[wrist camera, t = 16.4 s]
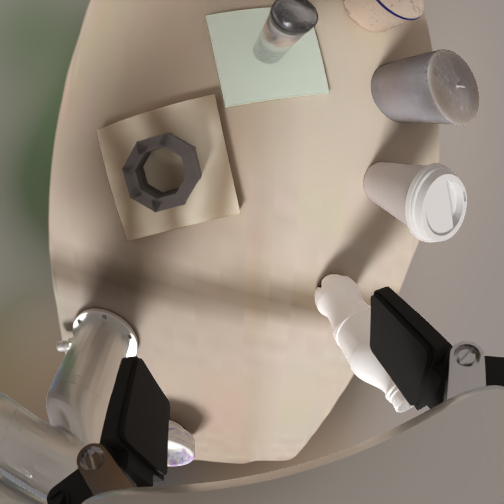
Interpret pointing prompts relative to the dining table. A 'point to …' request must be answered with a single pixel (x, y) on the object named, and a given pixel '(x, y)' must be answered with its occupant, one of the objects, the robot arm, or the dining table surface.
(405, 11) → the teacup with lid
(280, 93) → the sage pad
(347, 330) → the water bottle
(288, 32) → the steel peg
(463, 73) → the pillar candle
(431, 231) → the coffee cup
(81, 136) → the dining table surface
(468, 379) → the robot arm
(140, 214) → the block
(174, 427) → the paper bowls
